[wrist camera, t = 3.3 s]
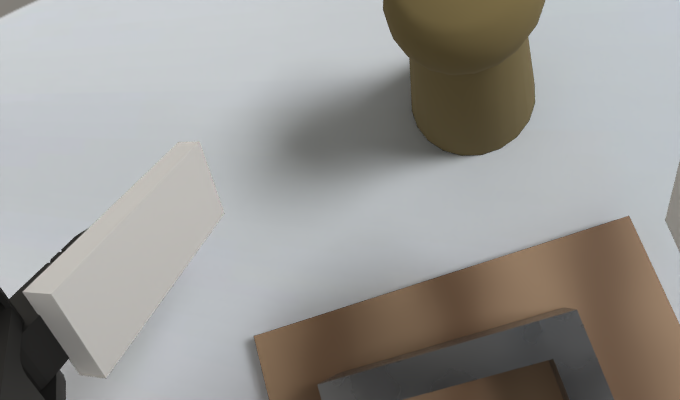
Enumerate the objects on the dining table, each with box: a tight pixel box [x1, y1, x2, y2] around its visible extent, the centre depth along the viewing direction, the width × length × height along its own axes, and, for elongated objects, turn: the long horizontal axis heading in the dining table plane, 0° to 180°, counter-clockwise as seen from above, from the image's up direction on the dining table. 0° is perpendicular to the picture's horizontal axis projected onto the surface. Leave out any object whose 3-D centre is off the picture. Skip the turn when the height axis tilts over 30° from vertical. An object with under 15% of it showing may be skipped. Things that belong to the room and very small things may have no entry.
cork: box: [383, 0, 545, 156], centre depth 20 cm, size 6×6×11 cm
